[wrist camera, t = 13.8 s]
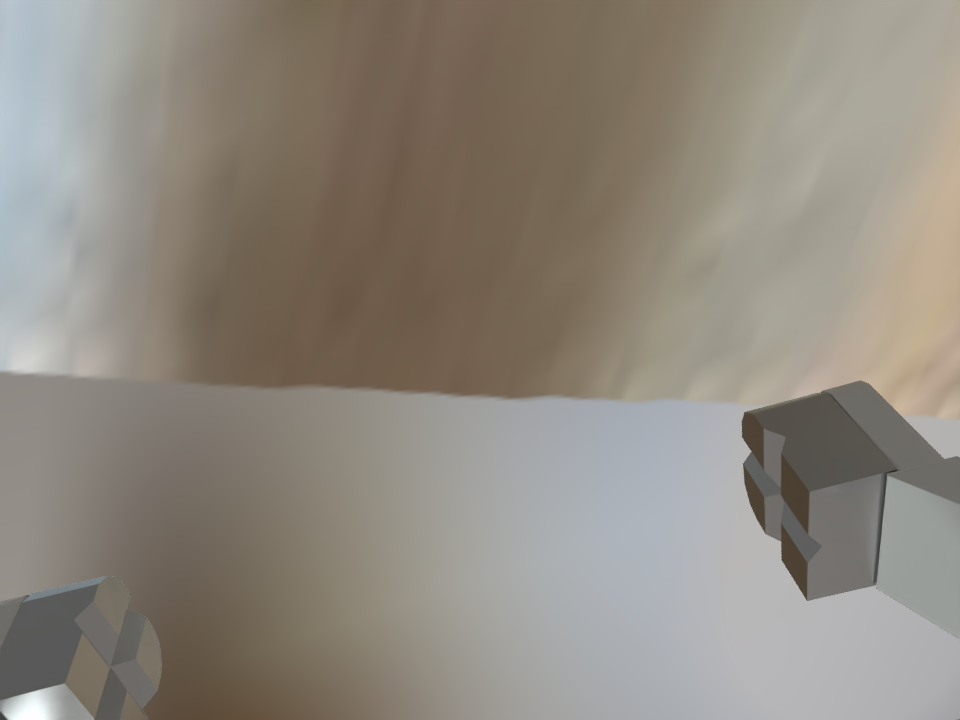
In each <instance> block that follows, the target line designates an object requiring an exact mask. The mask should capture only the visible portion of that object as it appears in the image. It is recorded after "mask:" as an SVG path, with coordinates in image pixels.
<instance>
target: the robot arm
mask: <svg viewBox="0 0 960 720" xmlns="http://www.w3.org/2000/svg"><path fill="white" fill-rule="evenodd" d="M742 438H743V439H744V441H745V442H746V444H747V445H748V447H749V448H750V450H751V451H752V452H751V453H750V455H749V456H748V457H747V459H746V460H745V462H744V463H743V469H744V482H745V487H746V490H747V494H748V498H749V502H750V505H751V507H752V509H753V512H754V514H755V516H756V518H757V520H758V522H759V524H760V525H761V527H762V529H763V530H764V532H765V534H767V535H769V536H771V537H773V538H775V539H777V540H779V541H781V549H782V550H781V552H782V553H781V554H782V561H783V563H784V564H785V566H786V568H787V569H788V571H789V573H790V574H791V576H792V577H793V579H794V581H795V582H796V584H797V585H798V587H799V589H800V590H801V592H802V593H803V595H804V597H805V598H806V600H807V601H809V600H813V599H817V598H822V597H826V596H831V595H835V594H839V593H844V592H848V591H852V590H857V589H861V588H865V587H870V586H874V585H877V586H876V589H878V590H879V591H881V592H883V593H884V594H886V595H888V596H889V597H891V598H893V599H894V600H896V601H897V602H899V603H901V604H902V605H904V606H906V607H907V608H909V609H910V610H912V611H914V612H915V613H917V614H919V615H920V616H922V617H924V618H925V619H927V620H929V621H930V622H932V623H933V624H935V625H937V626H938V627H940V628H941V629H943V630H945V631H946V632H948V633H950V634H951V635H953V636H954V637H956V638H958V639H960V458H959V457H957V456H956V457H952V458H948V459H944V458H943V457H942V456H941V455H940V454H939V453H938V452H937V451H936V450H935V449H934V448H933V447H932V446H931V445H930V444H928V442H927V441H926V440H925V439H924V438H923V437H922V436H921V435H920V434H919V433H918V432H917V431H916V430H915V429H914V428H913V427H912V426H911V425H910V424H909V423H908V422H907V421H906V420H905V419H904V418H903V417H902V416H901V415H900V414H899V413H898V412H897V411H896V410H895V409H894V408H893V407H892V406H891V405H890V404H889V403H888V402H887V401H886V400H885V399H884V398H883V397H882V396H881V395H880V394H879V393H878V392H877V391H876V390H875V389H874V388H873V387H872V386H871V385H870V384H869V383H866V382H863V381H861V380H860V381H857V382H853V383H849V384H846V385H842V386H839V387H835V388H831V389H828V390H824V391H822V392H821V393H815V394H812V395H808V396H804V397H800V398H797V399H793V400H789V401H785V402H781V403H778V404H774V405H770V406H766V407H763V408H759V409H755V410H752V411H747V412H745V413H744V416H743V419H742ZM130 595H131V594H130V593H129V591H128V590H127V589H126V587H125V586H124V585H123V583H122V582H121V581H120V579H119V578H118V577H112V576H105V577H100V578H96V579H92V580H88V581H84V582H79V583H75V584H70V585H66V586H62V587H57V588H53V589H49V590H45V591H41V592H36V593H32V594H31V595H27V596H23V597H18V598H14V599H9V600H5V601H1V602H0V720H148V718H147V717H146V715H145V714H144V712H143V710H142V709H143V707H144V706H145V705H146V704H147V703H148V701H149V700H150V699H151V698H152V696H153V695H154V694H155V693H156V692H157V690H158V686H159V681H160V675H161V671H162V666H161V650H160V644H159V641H158V639H157V636H156V633H155V630H154V628H153V627H152V625H151V624H150V622H149V621H148V619H147V618H146V617H144V616H142V615H140V614H138V613H135V612H133V611H131V610H129V609H127V606H128V602H129V599H130ZM958 720H960V719H958Z"/></svg>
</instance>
